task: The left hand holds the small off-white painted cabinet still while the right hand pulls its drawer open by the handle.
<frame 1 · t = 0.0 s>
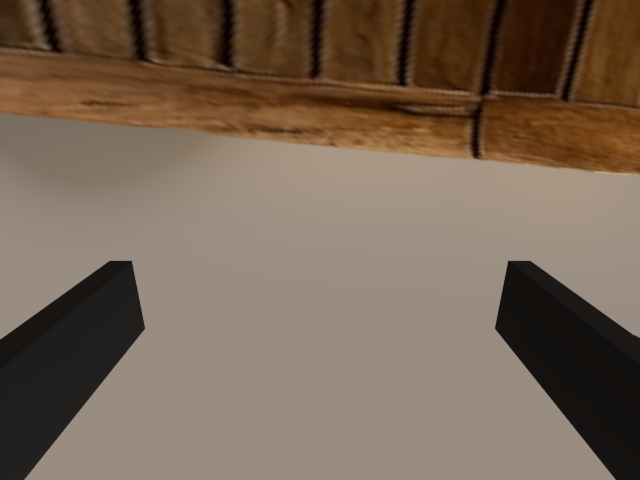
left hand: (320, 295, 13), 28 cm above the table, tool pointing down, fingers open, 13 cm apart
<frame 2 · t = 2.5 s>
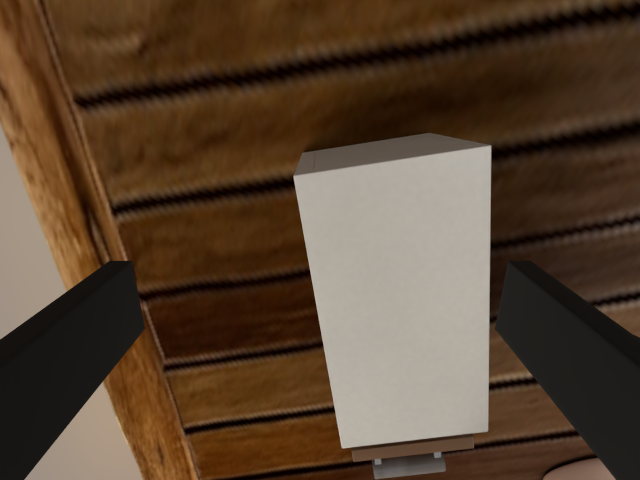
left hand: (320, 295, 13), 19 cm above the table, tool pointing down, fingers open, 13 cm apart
cabinet: (377, 255, 32), on the table
drawer: (395, 351, 30), point 5 cm above the table, slide at 1.6 cm
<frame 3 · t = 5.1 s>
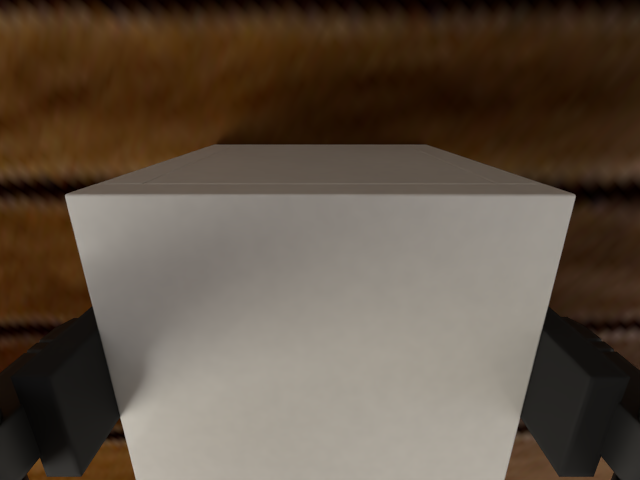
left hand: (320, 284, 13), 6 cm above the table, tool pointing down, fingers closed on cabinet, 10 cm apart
cabinet: (320, 320, 21), on the table, touching left hand
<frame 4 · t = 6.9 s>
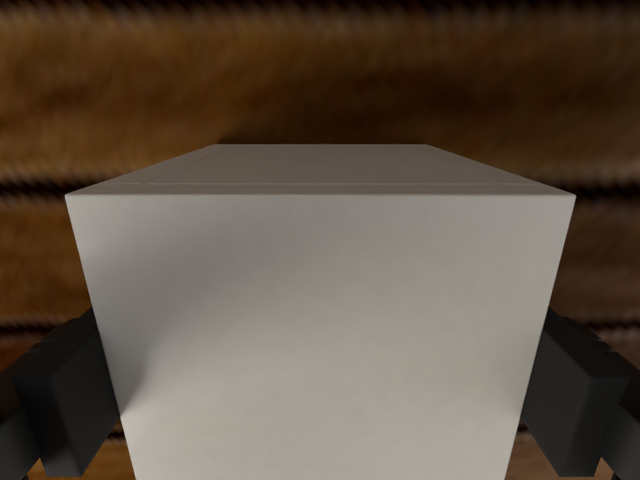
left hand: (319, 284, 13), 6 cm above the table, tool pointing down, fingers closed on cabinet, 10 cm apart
cabinet: (320, 319, 21), on the table, touching left hand
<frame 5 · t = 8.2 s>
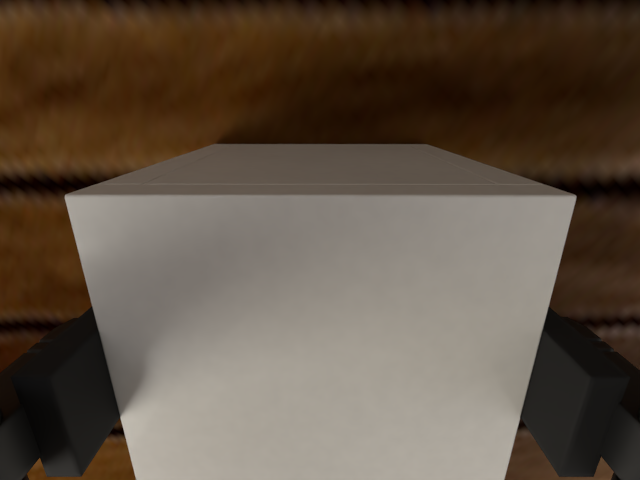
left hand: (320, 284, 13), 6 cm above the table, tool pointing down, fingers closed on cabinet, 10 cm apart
cabinet: (320, 319, 21), on the table, touching left hand
when the left hand's fingers open (6 cm above the table, at t = 9.7 s): cabinet stays where it is, on the table.
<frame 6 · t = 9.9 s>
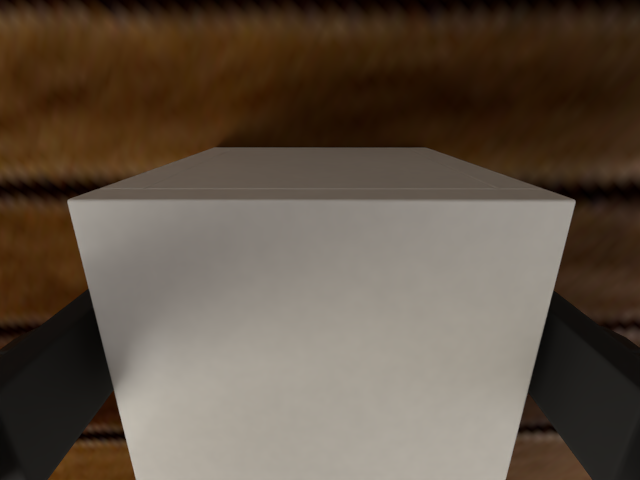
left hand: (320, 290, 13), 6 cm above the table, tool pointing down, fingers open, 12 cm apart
cabinet: (320, 322, 21), on the table
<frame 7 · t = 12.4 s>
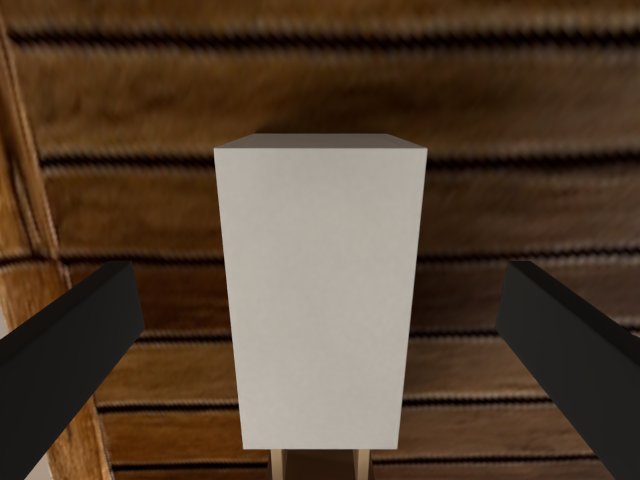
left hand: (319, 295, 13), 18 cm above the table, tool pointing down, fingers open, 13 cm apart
cabinet: (320, 253, 31), on the table
drawer: (320, 415, 30), point 5 cm above the table, slide at 7.8 cm
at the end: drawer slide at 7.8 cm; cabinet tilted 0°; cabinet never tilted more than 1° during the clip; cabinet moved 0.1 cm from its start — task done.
